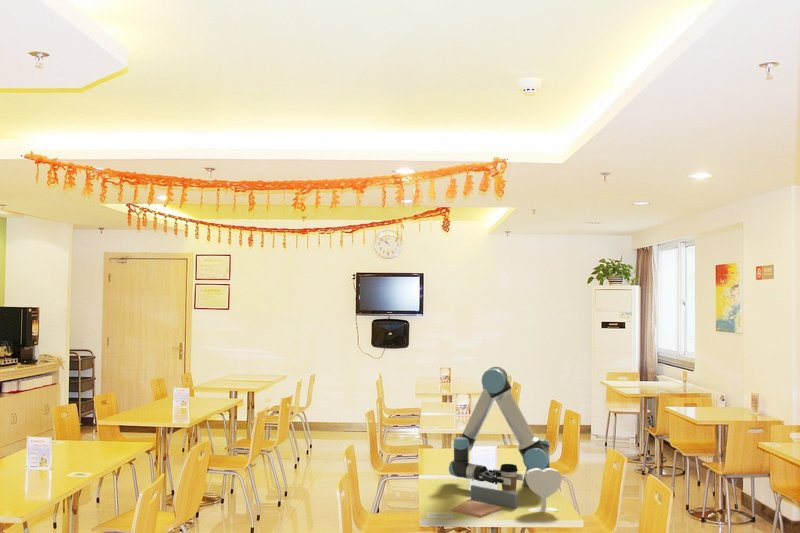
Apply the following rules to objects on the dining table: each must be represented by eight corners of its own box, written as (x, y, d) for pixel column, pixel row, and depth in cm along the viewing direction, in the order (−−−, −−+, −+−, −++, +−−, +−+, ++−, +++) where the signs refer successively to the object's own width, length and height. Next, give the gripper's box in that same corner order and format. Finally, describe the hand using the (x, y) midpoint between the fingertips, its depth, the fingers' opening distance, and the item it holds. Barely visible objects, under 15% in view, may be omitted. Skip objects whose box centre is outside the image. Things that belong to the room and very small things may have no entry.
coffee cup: (504, 499, 319) (504, 467, 320) (497, 494, 327) (497, 463, 328) (521, 498, 321) (520, 466, 322) (513, 493, 329) (513, 462, 330)
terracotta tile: (471, 502, 314) (471, 500, 314) (501, 509, 303) (501, 506, 303) (451, 510, 301) (451, 507, 302) (481, 517, 291) (481, 515, 291)
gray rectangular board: (472, 497, 321) (472, 485, 322) (516, 507, 306) (516, 493, 306) (470, 498, 320) (470, 485, 321) (515, 508, 305) (515, 494, 305)
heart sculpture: (559, 508, 305) (558, 467, 306) (562, 511, 300) (562, 470, 301) (525, 508, 304) (524, 467, 305) (527, 511, 299) (527, 470, 300)
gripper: (490, 476, 344) (528, 483, 330) (464, 484, 327) (503, 492, 313) (489, 461, 345) (528, 467, 331) (464, 468, 327) (503, 476, 313)
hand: (516, 479), depth 322 cm, fingers open, 10 cm apart
